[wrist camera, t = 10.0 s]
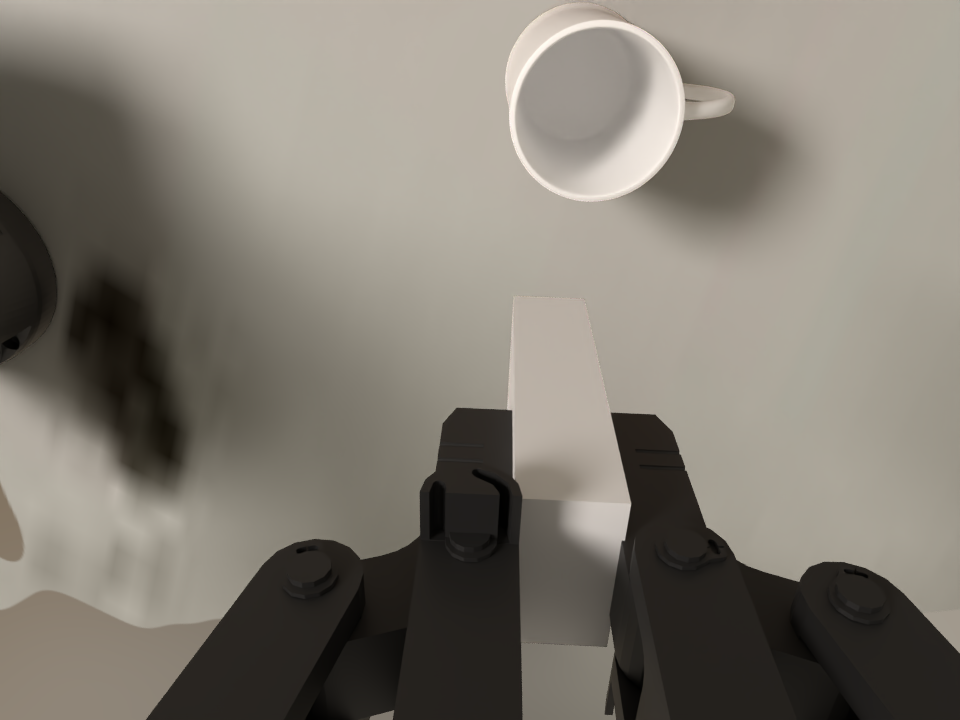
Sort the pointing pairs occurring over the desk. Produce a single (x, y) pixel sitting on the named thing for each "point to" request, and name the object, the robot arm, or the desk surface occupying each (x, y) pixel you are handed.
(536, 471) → the robot arm
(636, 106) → the mug
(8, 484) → the desk surface
